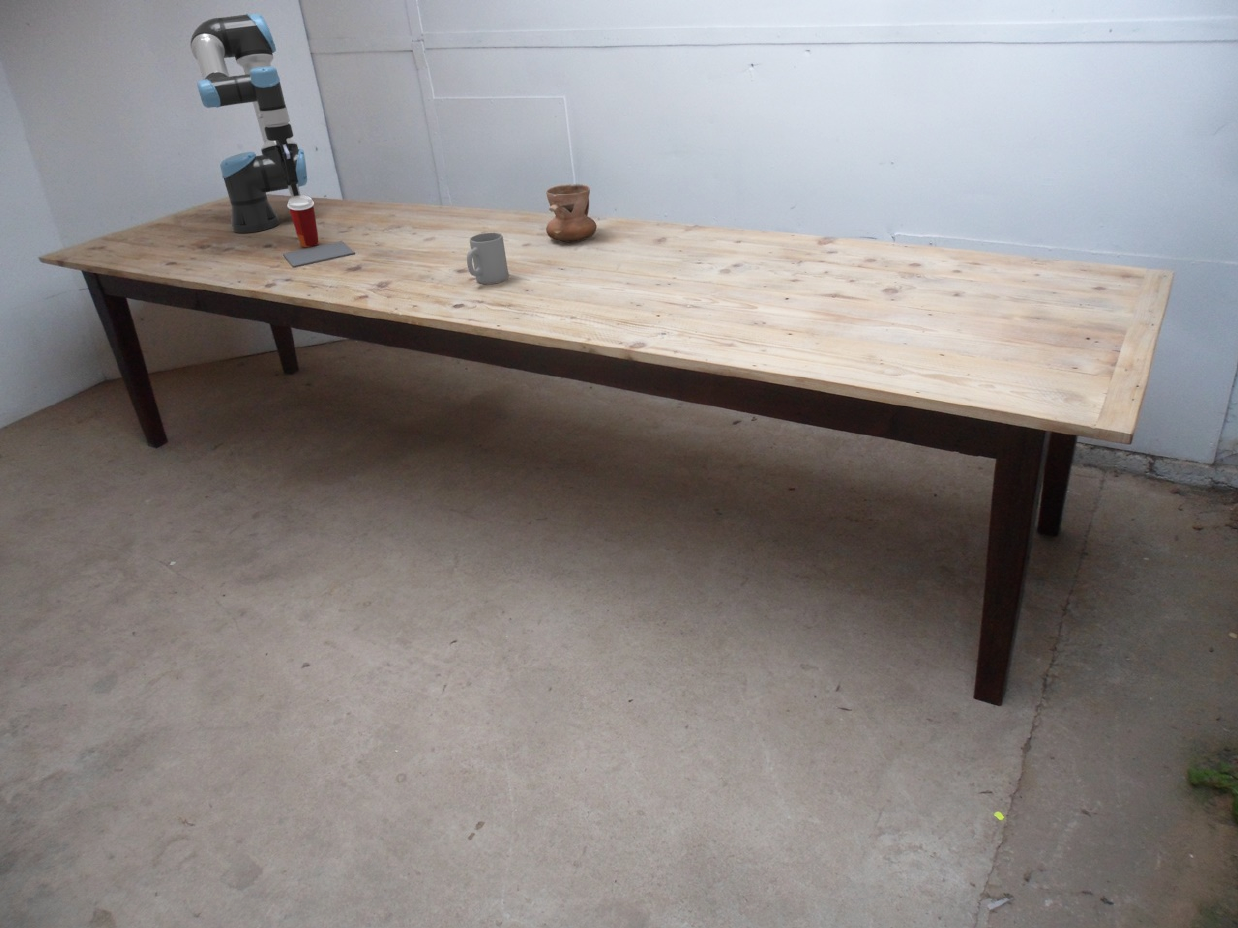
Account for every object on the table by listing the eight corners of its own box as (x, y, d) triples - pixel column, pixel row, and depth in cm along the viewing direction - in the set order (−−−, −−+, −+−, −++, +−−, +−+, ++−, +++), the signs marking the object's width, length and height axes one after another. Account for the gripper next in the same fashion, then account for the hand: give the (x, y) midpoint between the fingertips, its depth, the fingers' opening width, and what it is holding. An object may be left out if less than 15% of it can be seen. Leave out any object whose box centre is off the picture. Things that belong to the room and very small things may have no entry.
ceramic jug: (576, 249, 253) (571, 197, 246) (534, 244, 260) (529, 194, 253) (611, 232, 266) (607, 183, 259) (570, 228, 273) (566, 179, 266)
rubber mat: (283, 255, 274) (282, 253, 273) (342, 242, 280) (342, 240, 280) (293, 267, 261) (293, 266, 261) (355, 254, 268) (354, 252, 268)
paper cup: (325, 238, 283) (316, 195, 274) (317, 250, 277) (308, 206, 268) (301, 236, 284) (291, 194, 275) (292, 248, 278) (282, 205, 269)
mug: (490, 272, 242) (484, 231, 236) (515, 275, 237) (509, 234, 232) (460, 286, 234) (452, 244, 228) (485, 290, 229) (478, 247, 224)
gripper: (260, 124, 269) (282, 204, 281) (267, 129, 259) (289, 212, 270) (286, 120, 272) (306, 200, 283) (294, 125, 261) (315, 207, 273)
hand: (298, 205), depth 277 cm, fingers closed
